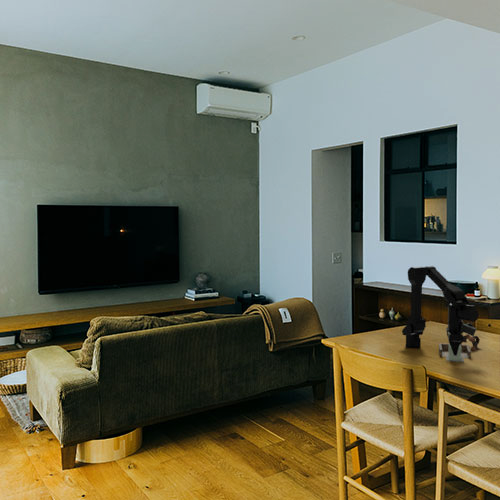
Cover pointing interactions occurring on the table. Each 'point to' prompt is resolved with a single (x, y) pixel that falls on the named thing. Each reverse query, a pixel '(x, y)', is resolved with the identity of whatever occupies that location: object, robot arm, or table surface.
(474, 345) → the pottery mug
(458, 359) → the sage block
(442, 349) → the walnut crate
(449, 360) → the slate tile
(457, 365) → the table surface
